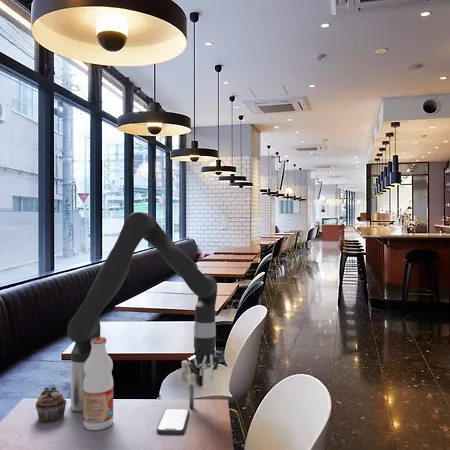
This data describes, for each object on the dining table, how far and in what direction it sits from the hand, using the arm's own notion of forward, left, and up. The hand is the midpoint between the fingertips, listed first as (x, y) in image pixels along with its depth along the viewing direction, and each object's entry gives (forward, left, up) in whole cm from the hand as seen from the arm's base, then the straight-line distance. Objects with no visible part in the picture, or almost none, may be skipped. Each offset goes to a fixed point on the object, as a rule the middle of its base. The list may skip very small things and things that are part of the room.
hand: (204, 383), depth 145 cm
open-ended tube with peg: (-4, 0, -1) cm, 4 cm away
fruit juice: (-17, -30, -11) cm, 37 cm away
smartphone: (-2, -11, -11) cm, 16 cm away
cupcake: (-32, -40, -11) cm, 53 cm away
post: (-7, 0, -11) cm, 13 cm away
